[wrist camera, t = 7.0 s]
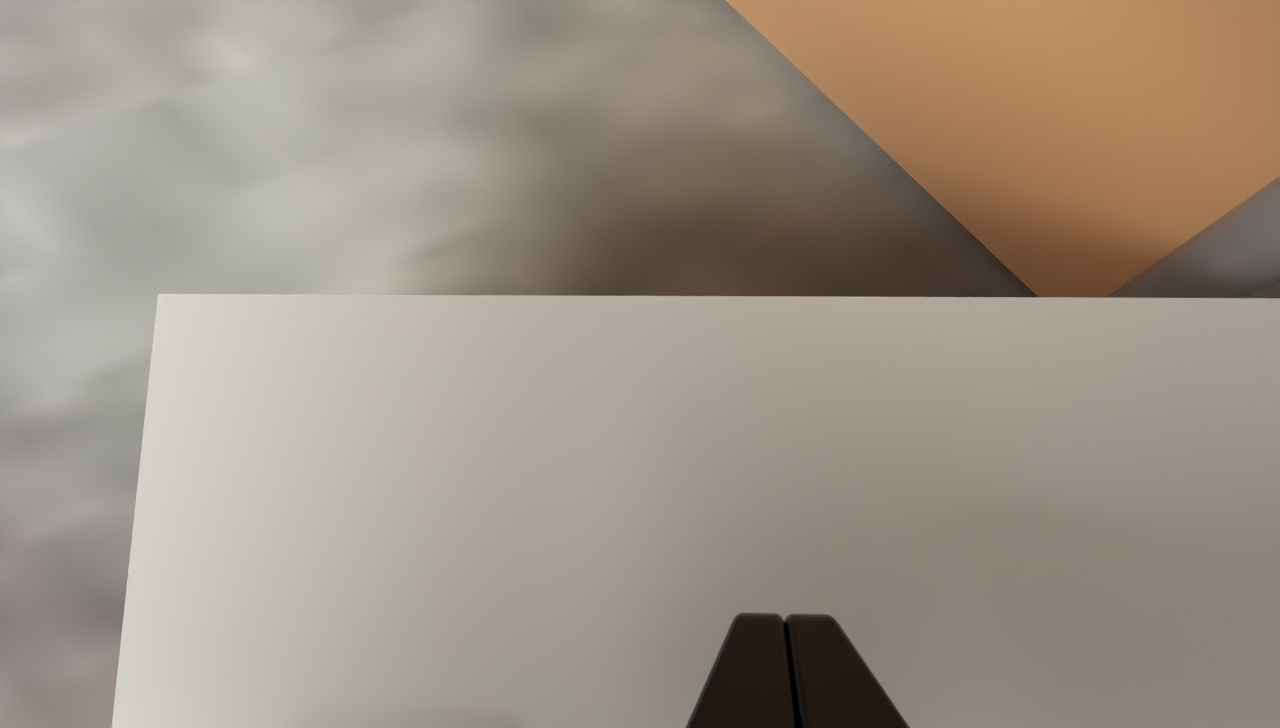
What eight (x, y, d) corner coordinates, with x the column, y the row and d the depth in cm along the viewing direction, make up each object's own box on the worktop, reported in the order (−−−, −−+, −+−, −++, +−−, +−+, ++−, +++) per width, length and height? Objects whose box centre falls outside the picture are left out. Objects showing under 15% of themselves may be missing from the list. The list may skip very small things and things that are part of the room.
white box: (1262, 972, 17) (1700, 1265, 10) (304, 942, 18) (30, 1194, 10) (1212, 404, 19) (1548, 283, 12) (343, 396, 20) (132, 279, 12)
